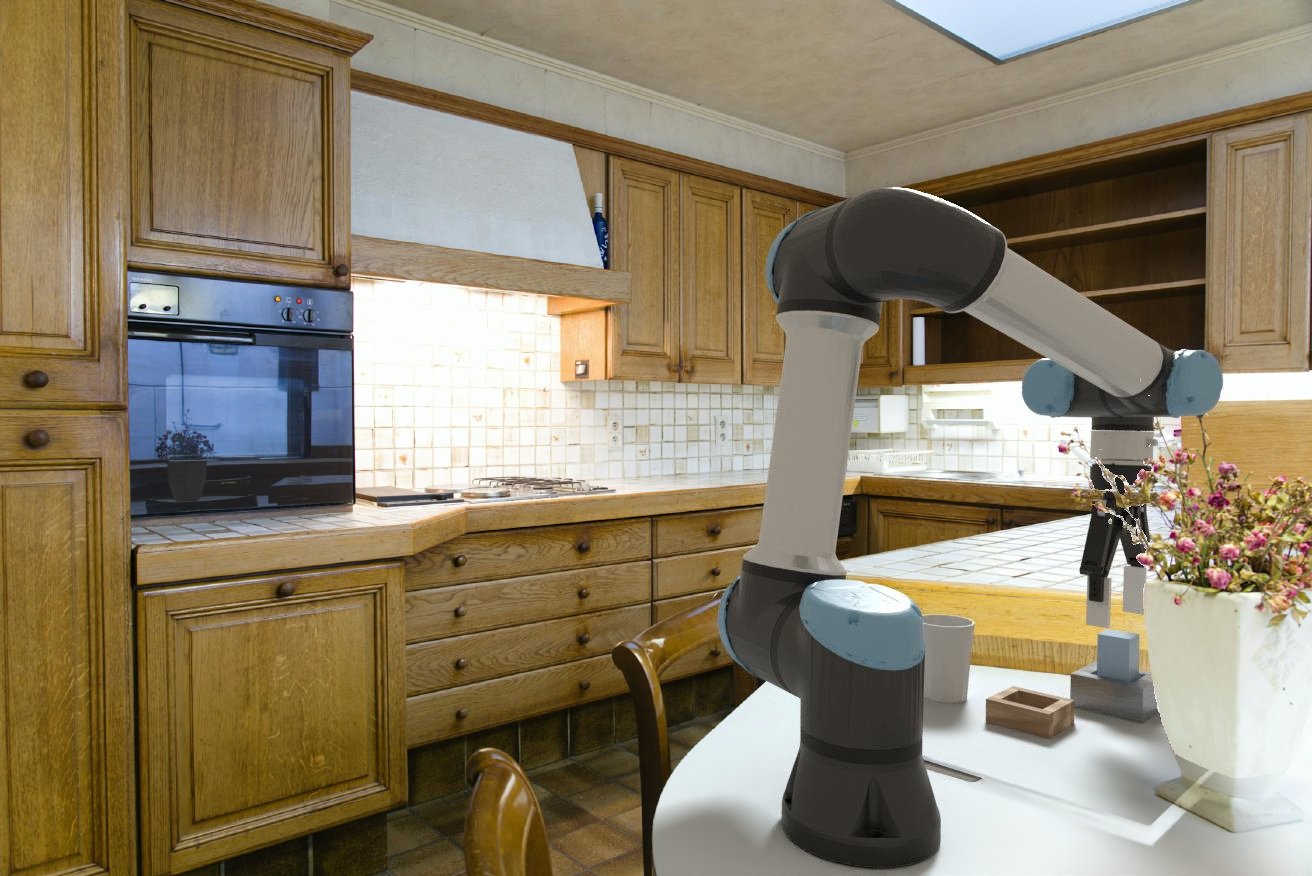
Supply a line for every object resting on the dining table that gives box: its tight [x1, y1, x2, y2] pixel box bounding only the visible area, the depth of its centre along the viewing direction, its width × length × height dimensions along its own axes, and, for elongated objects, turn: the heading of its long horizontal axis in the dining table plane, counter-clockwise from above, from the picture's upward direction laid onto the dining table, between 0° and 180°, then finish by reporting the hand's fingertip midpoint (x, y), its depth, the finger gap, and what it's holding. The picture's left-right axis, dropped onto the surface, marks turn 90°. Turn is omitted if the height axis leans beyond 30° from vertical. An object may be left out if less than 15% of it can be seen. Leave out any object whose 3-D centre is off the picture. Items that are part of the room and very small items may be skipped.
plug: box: [1096, 628, 1141, 683], centre depth 117 cm, size 4×4×10 cm
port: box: [1069, 660, 1159, 724], centre depth 117 cm, size 9×9×5 cm
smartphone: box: [923, 758, 983, 783], centre depth 103 cm, size 7×1×15 cm
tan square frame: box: [985, 685, 1076, 740], centre depth 111 cm, size 8×8×4 cm
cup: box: [922, 613, 976, 704], centre depth 122 cm, size 8×8×12 cm
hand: (1116, 619), depth 117 cm, fingers open, 13 cm apart
